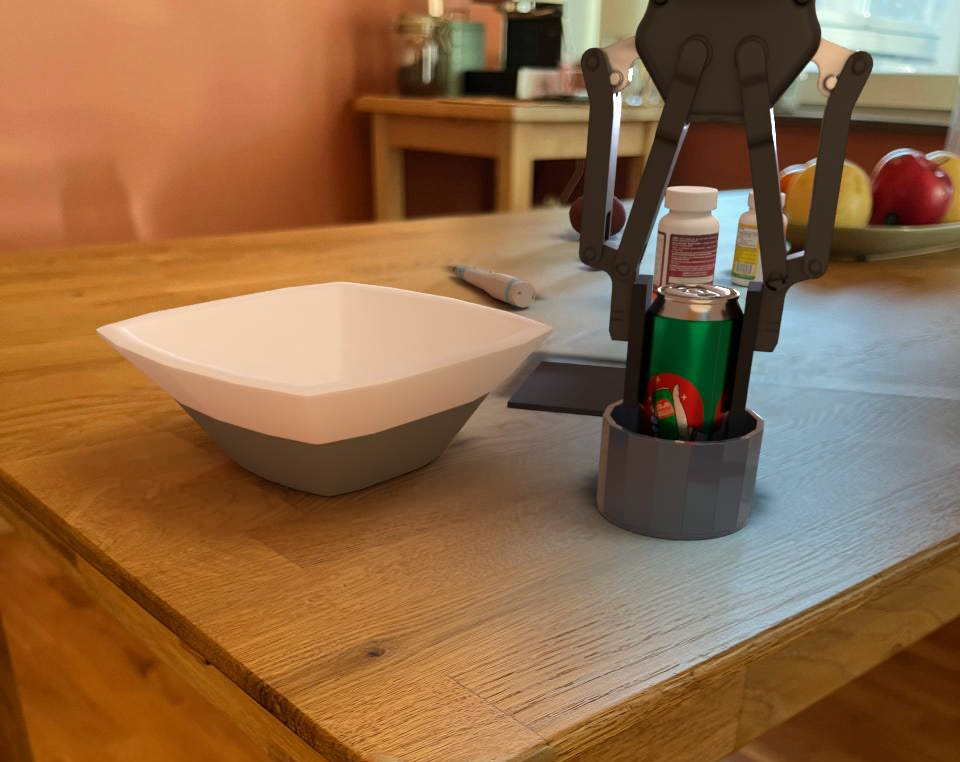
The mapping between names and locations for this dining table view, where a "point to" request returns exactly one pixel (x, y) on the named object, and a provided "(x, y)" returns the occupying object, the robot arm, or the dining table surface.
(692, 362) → the soda can
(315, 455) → the bowl
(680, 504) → the gray round container
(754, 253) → the supplement bottle
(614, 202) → the plum
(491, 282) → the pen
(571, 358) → the dining table surface
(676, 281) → the pill bottle
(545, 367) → the mat
